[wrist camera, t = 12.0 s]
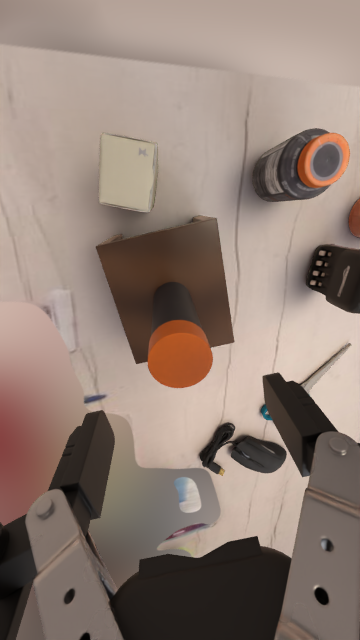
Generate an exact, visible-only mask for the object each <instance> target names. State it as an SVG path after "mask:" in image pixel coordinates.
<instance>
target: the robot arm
mask: <svg viewBox="0 0 360 640" xmlns="http://www.w3.org/2000/svg"><path fill="white" fill-rule="evenodd" d="M263 388H264V398H265V404H266V407H267V410H268V412H269V414H270V416H271V418H272V420H273V422H274V424H275V426H276V428H277V429H278V431H279V433H280V435H281V437H282V439H283V441H284V443H285V445H286V447H287V449H288V450H289V452H290V454H291V456H292V458H293V460H294V462H295V464H296V466H297V468H298V470H299V471H300V473H301V475H302V477H305V476H310V478H309V483H308V487H307V488H306V490H305V493H304V498H303V503H302V508H301V513H300V519H299V524H298V529H297V534H296V539H295V544H294V549H293V555H292V558H290V557H289V556H287V555H285V554H284V553H282V552H279V551H277V550H275V549H272V548H268V547H263V546H260V544H259V540H258V537H257V536H255V537H250V538H245V539H240V540H235V541H230V542H227V543H225V544H224V545H222V546H220V547H218V548H217V549H215V550H213V551H211V552H210V553H208V554H206V555H204V556H203V557H200V558H193V557H186V556H178V555H172V554H166V555H161V556H156V557H151V558H146V559H141V560H140V563H139V572H137V573H135V574H134V575H133V576H131V577H130V578H129V579H128V580H127V581H126V582H125V583H124V584H123V585H122V586H121V587H120V588H119V589H117V587H116V585H115V584H114V582H113V581H112V578H111V577H110V575H109V573H108V571H107V569H106V566H105V564H104V562H103V560H102V558H101V556H100V553H99V551H98V549H97V547H96V545H95V543H94V541H93V539H92V536H91V534H90V532H89V531H88V528H89V524H90V520H92V519H97V518H100V516H101V511H102V506H103V501H104V495H105V491H106V485H107V480H108V475H109V470H110V465H111V460H112V454H113V450H114V443H115V438H114V433H113V430H112V428H111V426H110V423H109V421H108V419H107V417H106V415H105V413H104V411H103V410H101V411H96V412H92V413H88V414H86V416H85V418H84V421H83V424H82V426H78V427H77V428H76V429H75V430H74V432H73V433H72V434H71V435H70V437H69V440H68V442H67V444H66V449H64V452H63V454H62V457H61V459H60V462H59V464H58V467H57V470H56V472H55V474H54V477H53V479H52V482H51V484H50V487H49V489H48V491H47V492H46V493H44V494H42V495H41V496H40V497H39V498H38V499H37V500H36V501H35V502H34V503H33V504H32V506H31V507H30V509H29V511H28V513H27V514H26V515H24V516H22V517H20V518H18V519H16V520H14V521H12V522H11V523H9V524H7V525H5V526H3V525H2V524H1V523H0V640H16V637H17V633H18V630H19V626H20V623H21V620H22V617H23V613H24V610H25V607H26V604H27V600H28V597H29V593H30V590H31V587H32V583H33V586H34V591H35V595H36V600H37V604H38V609H39V613H40V618H41V623H42V627H43V632H44V636H45V640H360V443H357V442H355V441H354V440H353V439H352V438H350V437H349V436H347V435H345V434H342V433H339V432H338V431H337V430H336V428H335V427H334V426H333V424H332V423H331V422H330V421H329V419H328V418H327V417H326V416H325V414H324V413H323V412H322V411H321V409H320V408H319V407H318V405H317V404H315V402H314V400H313V399H312V398H311V397H310V396H309V394H308V393H307V392H306V390H305V389H304V388H303V387H302V386H301V385H299V384H297V383H296V382H294V381H289V382H286V381H285V380H284V379H283V377H282V376H281V374H280V373H274V374H269V375H264V376H263Z"/></svg>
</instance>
